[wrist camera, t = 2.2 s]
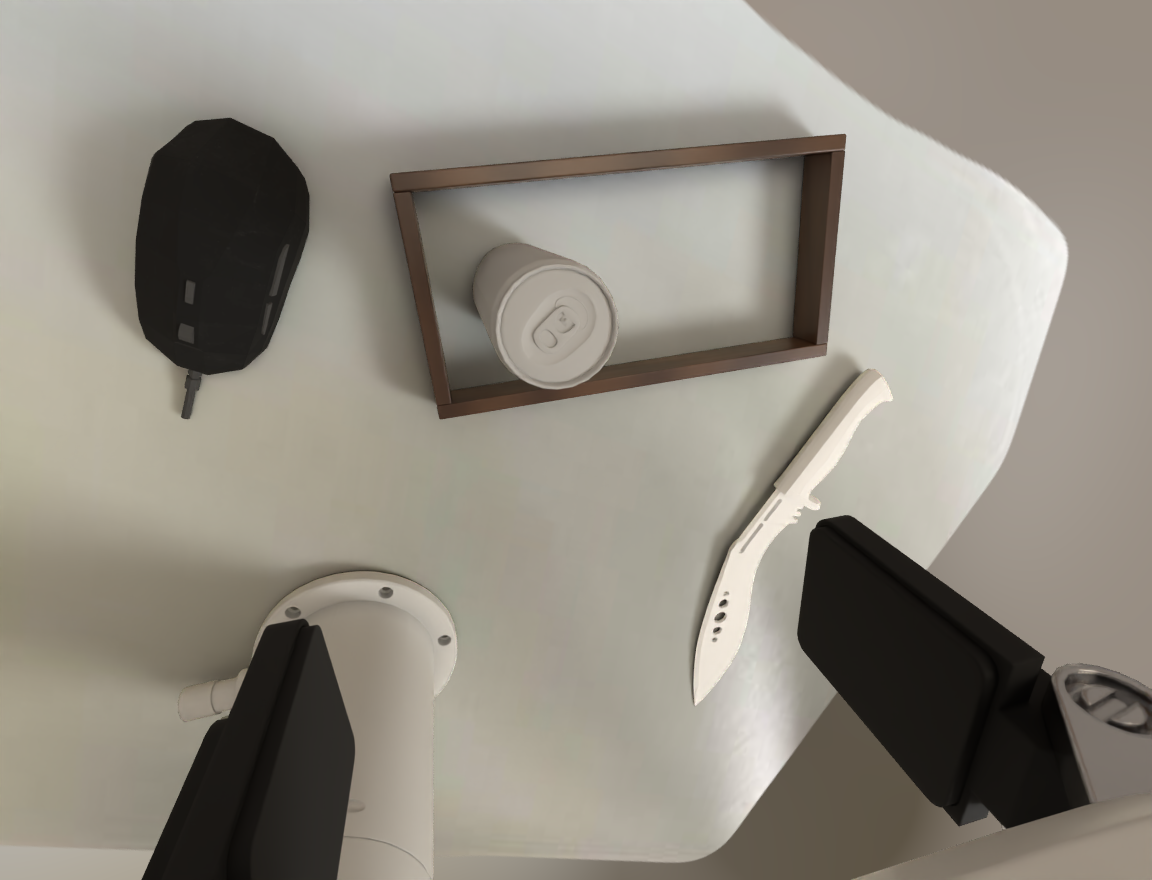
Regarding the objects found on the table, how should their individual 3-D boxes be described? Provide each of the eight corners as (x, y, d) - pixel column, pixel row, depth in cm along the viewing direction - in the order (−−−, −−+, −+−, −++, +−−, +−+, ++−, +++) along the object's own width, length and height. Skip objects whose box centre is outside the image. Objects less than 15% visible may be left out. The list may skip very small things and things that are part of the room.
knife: (701, 715, 46) (628, 694, 43) (693, 699, 48) (622, 678, 45) (945, 419, 39) (878, 368, 36) (927, 410, 40) (861, 362, 37)
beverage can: (574, 287, 31) (647, 327, 21) (516, 348, 32) (557, 418, 21) (514, 222, 29) (559, 227, 19) (452, 288, 30) (462, 331, 19)
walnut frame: (439, 405, 32) (439, 420, 30) (392, 176, 27) (388, 173, 25) (802, 347, 36) (826, 355, 34) (817, 139, 31) (847, 133, 29)
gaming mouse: (117, 396, 28) (70, 423, 25) (181, 94, 24) (136, 74, 21) (251, 434, 30) (227, 464, 27) (330, 163, 26) (313, 155, 23)
